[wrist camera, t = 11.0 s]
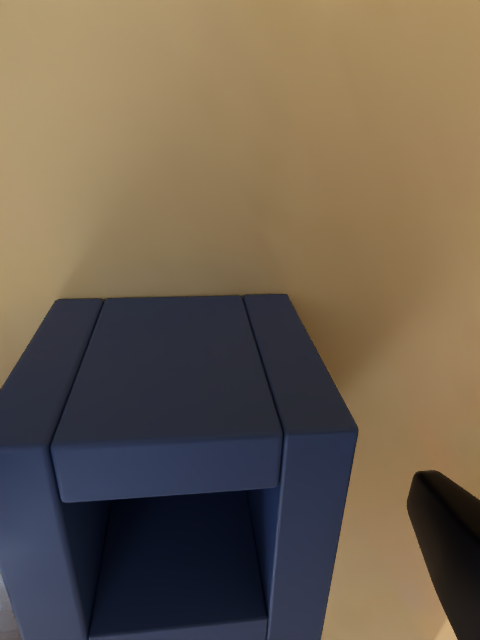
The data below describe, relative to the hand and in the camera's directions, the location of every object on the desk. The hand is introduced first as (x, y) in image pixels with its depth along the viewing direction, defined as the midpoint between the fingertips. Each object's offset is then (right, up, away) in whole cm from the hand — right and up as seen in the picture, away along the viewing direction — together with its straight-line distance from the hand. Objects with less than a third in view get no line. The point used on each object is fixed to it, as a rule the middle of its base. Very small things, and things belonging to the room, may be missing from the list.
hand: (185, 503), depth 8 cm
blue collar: (-1, +2, +3) cm, 4 cm away
